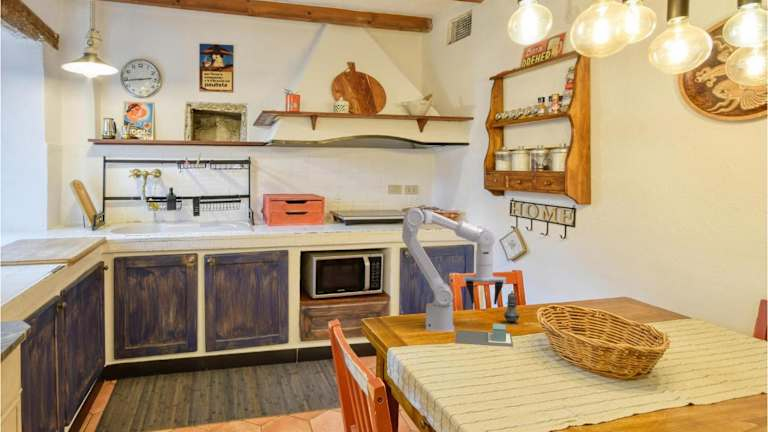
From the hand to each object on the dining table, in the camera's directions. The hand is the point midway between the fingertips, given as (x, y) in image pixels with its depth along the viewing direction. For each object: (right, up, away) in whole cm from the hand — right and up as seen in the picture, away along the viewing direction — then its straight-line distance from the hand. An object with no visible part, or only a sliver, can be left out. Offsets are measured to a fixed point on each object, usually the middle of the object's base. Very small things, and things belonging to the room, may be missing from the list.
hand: (483, 303), depth 171 cm
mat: (-2, -10, -10) cm, 14 cm away
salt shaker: (+12, -9, +9) cm, 17 cm away
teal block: (+3, -9, -10) cm, 14 cm away
